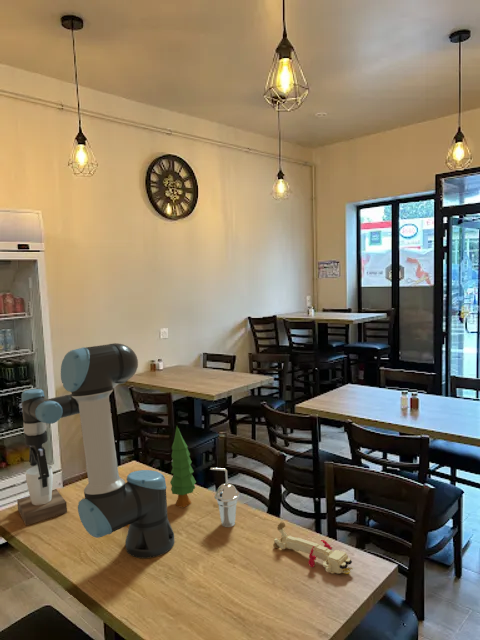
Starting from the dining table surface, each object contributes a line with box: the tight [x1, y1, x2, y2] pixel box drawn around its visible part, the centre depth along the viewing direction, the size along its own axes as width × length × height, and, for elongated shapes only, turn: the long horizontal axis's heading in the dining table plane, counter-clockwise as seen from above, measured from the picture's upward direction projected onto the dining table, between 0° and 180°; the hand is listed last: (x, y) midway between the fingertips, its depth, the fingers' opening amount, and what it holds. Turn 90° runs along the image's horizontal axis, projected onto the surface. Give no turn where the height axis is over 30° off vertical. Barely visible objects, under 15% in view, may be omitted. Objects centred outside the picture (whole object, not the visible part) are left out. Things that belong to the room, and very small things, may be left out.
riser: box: [16, 488, 68, 526], centre depth 174 cm, size 14×14×4 cm
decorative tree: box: [170, 425, 197, 508], centre depth 175 cm, size 10×9×30 cm
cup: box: [25, 464, 54, 505], centre depth 173 cm, size 9×9×12 cm
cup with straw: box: [209, 467, 241, 528], centre depth 159 cm, size 8×9×20 cm
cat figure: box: [272, 521, 354, 575], centre depth 138 cm, size 10×9×25 cm
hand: (40, 488), depth 173 cm, fingers open, 13 cm apart
